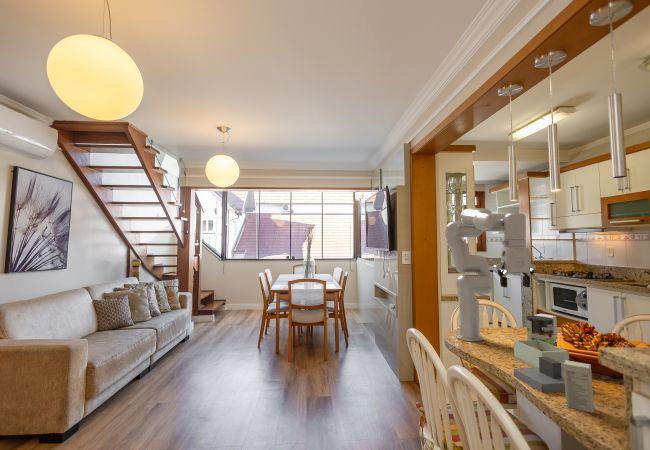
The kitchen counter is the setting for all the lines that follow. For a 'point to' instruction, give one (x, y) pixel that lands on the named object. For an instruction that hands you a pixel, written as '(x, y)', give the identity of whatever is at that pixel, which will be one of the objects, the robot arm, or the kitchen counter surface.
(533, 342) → the box
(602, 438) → the kitchen counter surface
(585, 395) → the skincare box
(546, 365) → the lid
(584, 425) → the kitchen counter surface
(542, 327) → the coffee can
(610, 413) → the kitchen counter surface
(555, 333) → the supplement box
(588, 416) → the kitchen counter surface
